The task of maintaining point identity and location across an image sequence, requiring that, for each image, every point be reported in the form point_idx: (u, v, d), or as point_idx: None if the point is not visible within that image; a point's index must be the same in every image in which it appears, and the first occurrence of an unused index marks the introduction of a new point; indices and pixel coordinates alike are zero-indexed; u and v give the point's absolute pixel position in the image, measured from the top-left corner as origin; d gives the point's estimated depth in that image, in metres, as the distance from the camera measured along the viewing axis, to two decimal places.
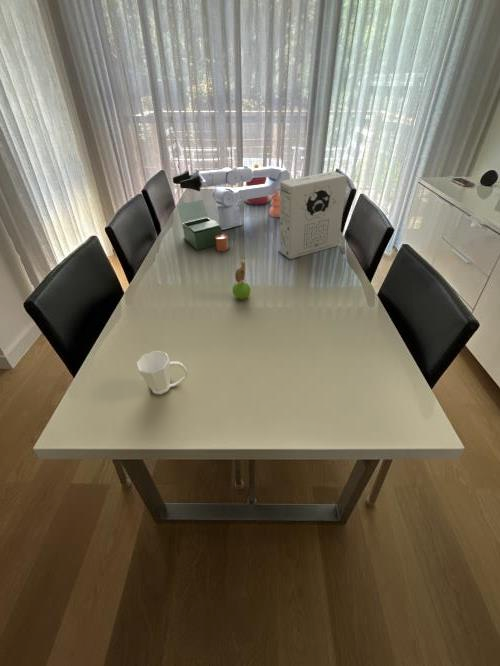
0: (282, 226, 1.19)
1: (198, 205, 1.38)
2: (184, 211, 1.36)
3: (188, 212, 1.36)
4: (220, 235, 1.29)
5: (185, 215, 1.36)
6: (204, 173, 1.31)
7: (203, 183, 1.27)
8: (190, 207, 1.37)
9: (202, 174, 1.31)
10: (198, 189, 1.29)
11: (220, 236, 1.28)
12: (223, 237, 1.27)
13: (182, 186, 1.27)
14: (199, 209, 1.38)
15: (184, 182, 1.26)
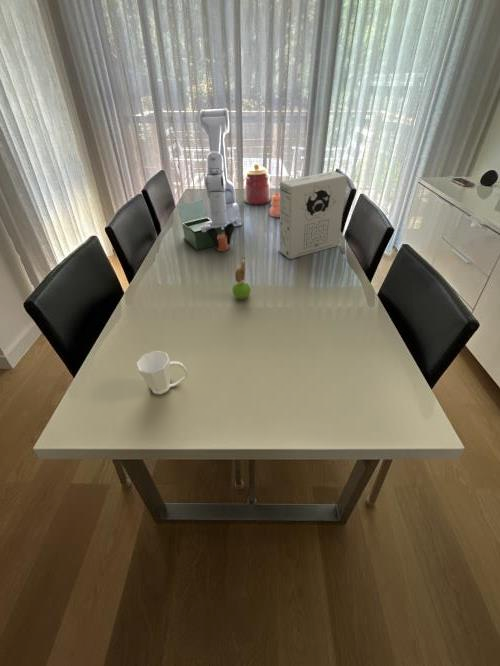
0: (282, 226, 1.19)
1: (198, 205, 1.38)
2: (184, 211, 1.36)
3: (188, 212, 1.36)
4: (220, 235, 1.29)
5: (185, 215, 1.36)
6: (225, 217, 1.22)
7: None
8: (190, 207, 1.37)
9: (226, 220, 1.23)
10: None
11: (220, 236, 1.28)
12: (223, 237, 1.27)
13: None
14: (199, 209, 1.38)
15: None
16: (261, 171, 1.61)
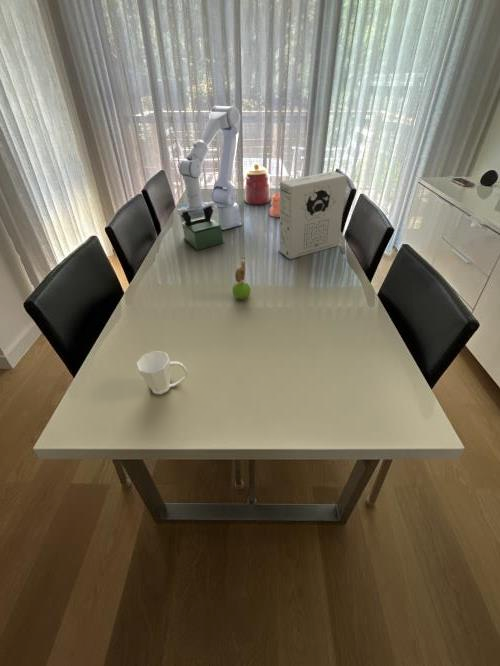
0: (282, 226, 1.19)
1: None
2: None
3: None
4: None
5: None
6: (200, 201, 1.29)
7: None
8: None
9: (201, 203, 1.30)
10: None
11: None
12: None
13: None
14: None
15: None
16: (261, 171, 1.61)
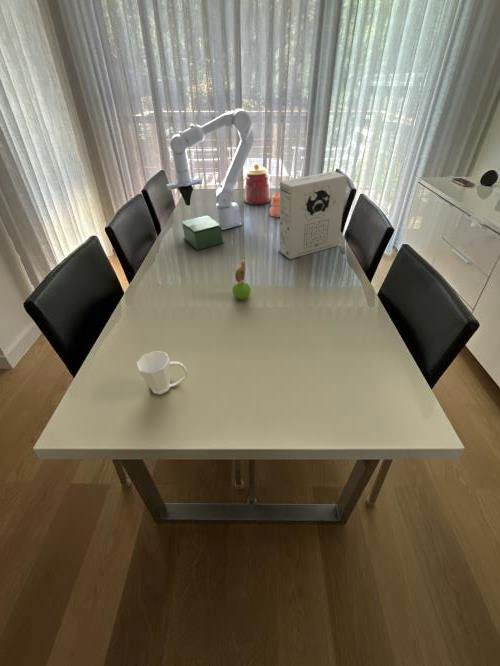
0: (282, 226, 1.19)
1: None
2: None
3: None
4: None
5: None
6: (188, 177, 1.34)
7: None
8: None
9: (189, 179, 1.35)
10: None
11: None
12: None
13: None
14: None
15: None
16: (261, 171, 1.61)
